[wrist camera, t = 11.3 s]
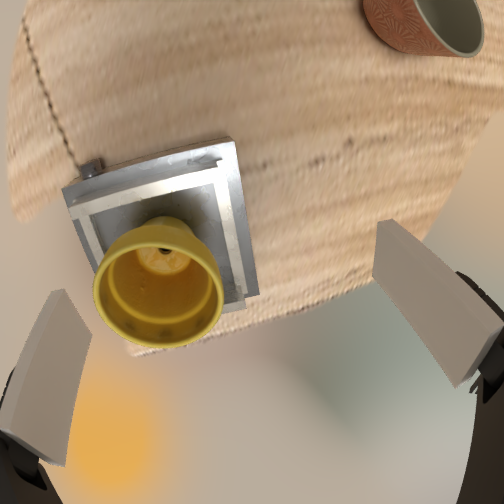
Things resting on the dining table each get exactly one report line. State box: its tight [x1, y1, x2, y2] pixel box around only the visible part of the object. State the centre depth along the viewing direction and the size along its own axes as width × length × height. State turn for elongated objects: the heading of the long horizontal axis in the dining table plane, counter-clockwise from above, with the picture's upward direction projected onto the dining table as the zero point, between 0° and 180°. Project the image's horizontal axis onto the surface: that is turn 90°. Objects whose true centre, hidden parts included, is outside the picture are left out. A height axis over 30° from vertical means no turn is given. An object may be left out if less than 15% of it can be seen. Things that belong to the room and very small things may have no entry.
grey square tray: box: [61, 137, 260, 314], centre depth 29 cm, size 19×18×8 cm
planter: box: [363, 0, 484, 58], centre depth 18 cm, size 12×12×11 cm
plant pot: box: [93, 216, 224, 348], centre depth 25 cm, size 10×10×10 cm
